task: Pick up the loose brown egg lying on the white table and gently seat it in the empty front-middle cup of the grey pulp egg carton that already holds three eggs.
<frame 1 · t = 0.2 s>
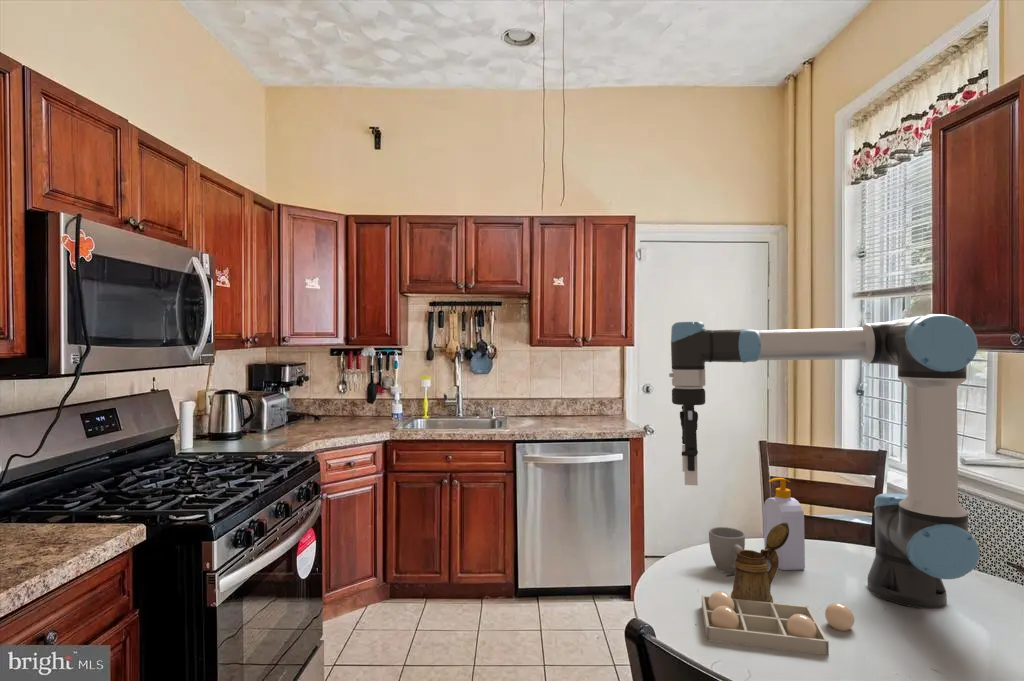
hand: (689, 478, 130), 28 cm above the table, fingers open, 13 cm apart
carton: (759, 631, 113), on the table
wooden mug: (761, 604, 125), on the table
mug: (730, 572, 143), on the table
egg seated 3: (721, 616, 118), point 1 cm above the table, touching carton
egg seated 2: (725, 633, 111), point 1 cm above the table, touching carton
soap bottle: (782, 564, 148), on the table
egg seated 1: (801, 642, 108), point 1 cm above the table, touching carton
egg: (839, 629, 114), on the table
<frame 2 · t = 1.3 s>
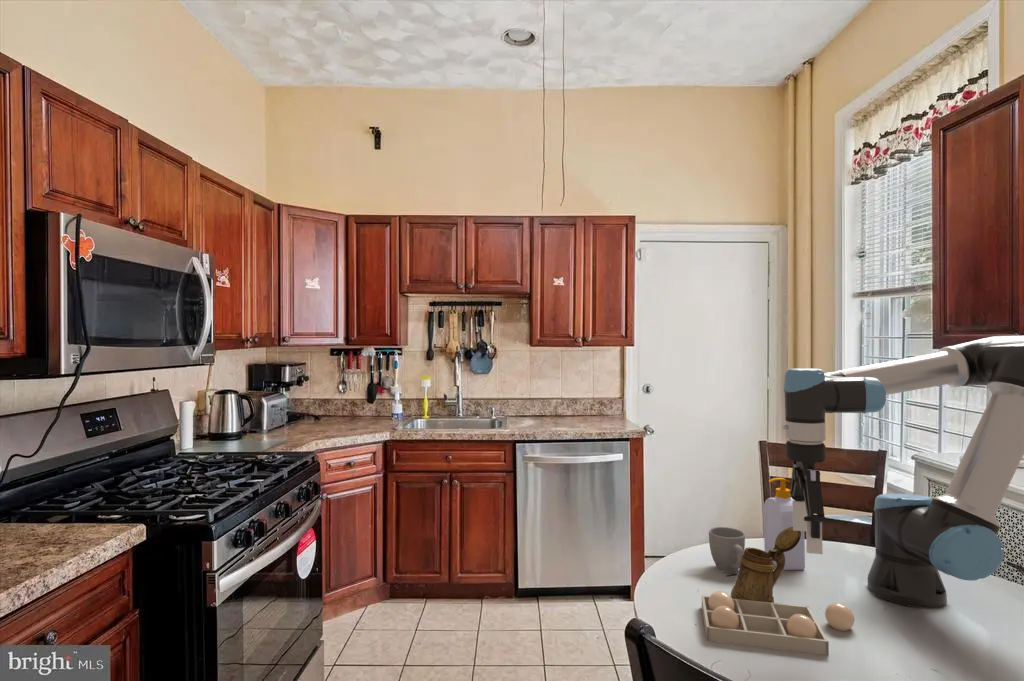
hand: (806, 541, 117), 17 cm above the table, fingers open, 13 cm apart
wooden mug: (761, 602, 125), on the table, touching gripper
everything else where it was.
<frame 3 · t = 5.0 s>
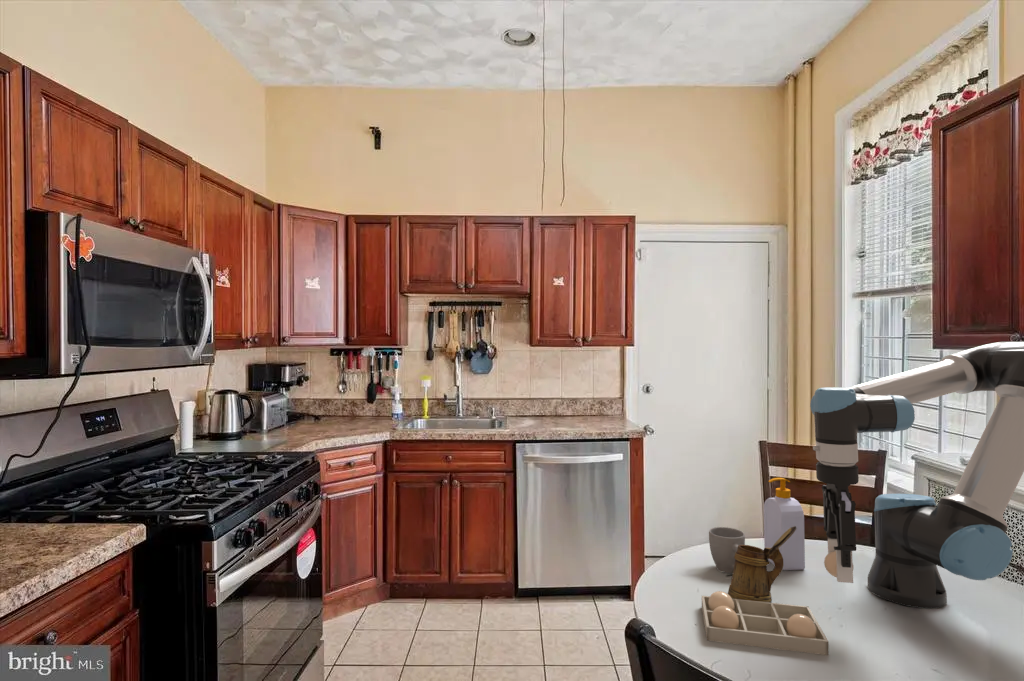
hand: (840, 575, 114), 11 cm above the table, fingers closed on egg, 5 cm apart
wooden mug: (759, 601, 126), on the table
egg: (838, 577, 114), point 11 cm above the table, touching gripper
everything else where it was.
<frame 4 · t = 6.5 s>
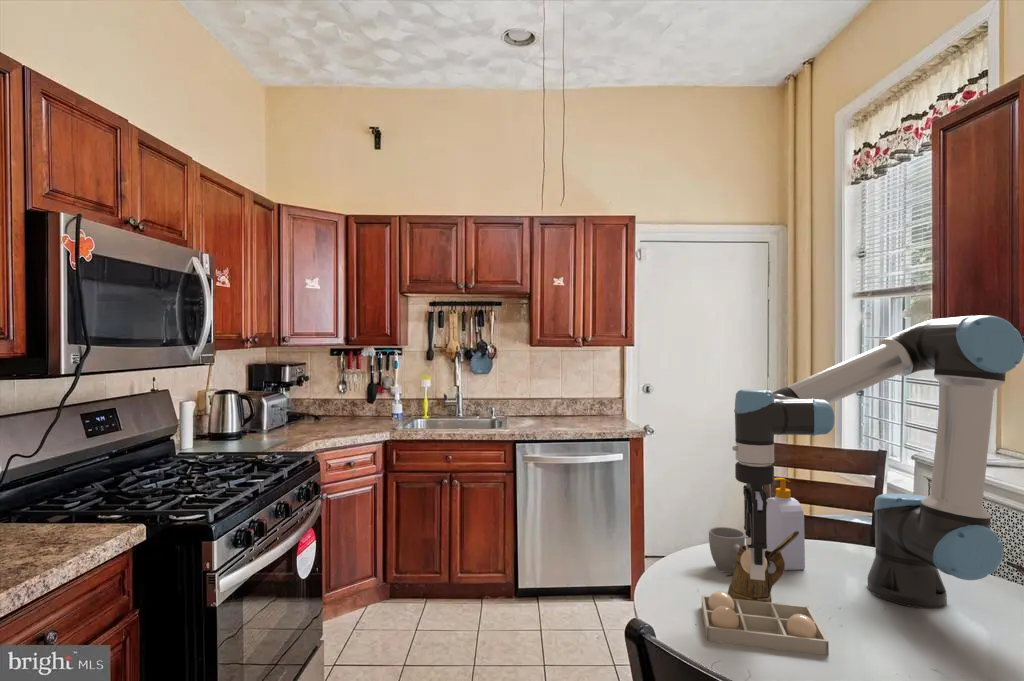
hand: (755, 573, 116), 11 cm above the table, fingers closed on egg, 5 cm apart
egg: (753, 574, 116), point 10 cm above the table, touching gripper
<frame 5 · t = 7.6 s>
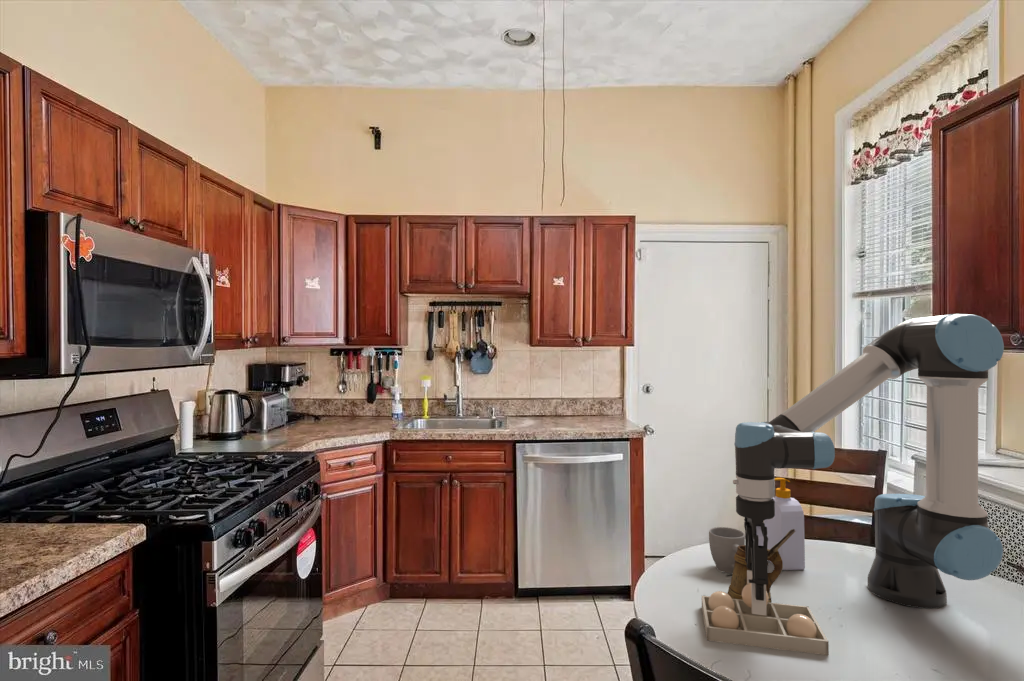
hand: (756, 607, 116), 3 cm above the table, fingers closed on carton, egg, 5 cm apart
egg: (755, 608, 116), point 3 cm above the table, touching gripper
everything else where it was.
when the fingers open (3 cm above the table, at t = 8.1 s): egg drops 2 cm, resting on carton.
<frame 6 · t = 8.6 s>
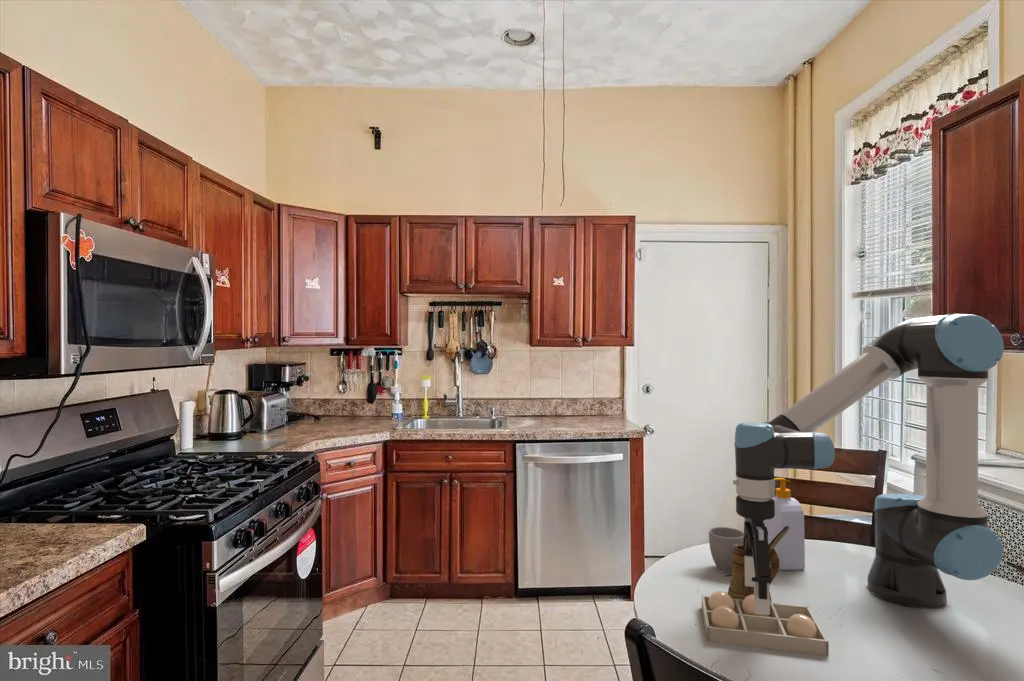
hand: (756, 599, 116), 5 cm above the table, fingers open, 12 cm apart
wooden mug: (759, 602, 126), on the table, touching gripper
egg: (755, 620, 116), point 1 cm above the table, touching carton
everything else where it was.
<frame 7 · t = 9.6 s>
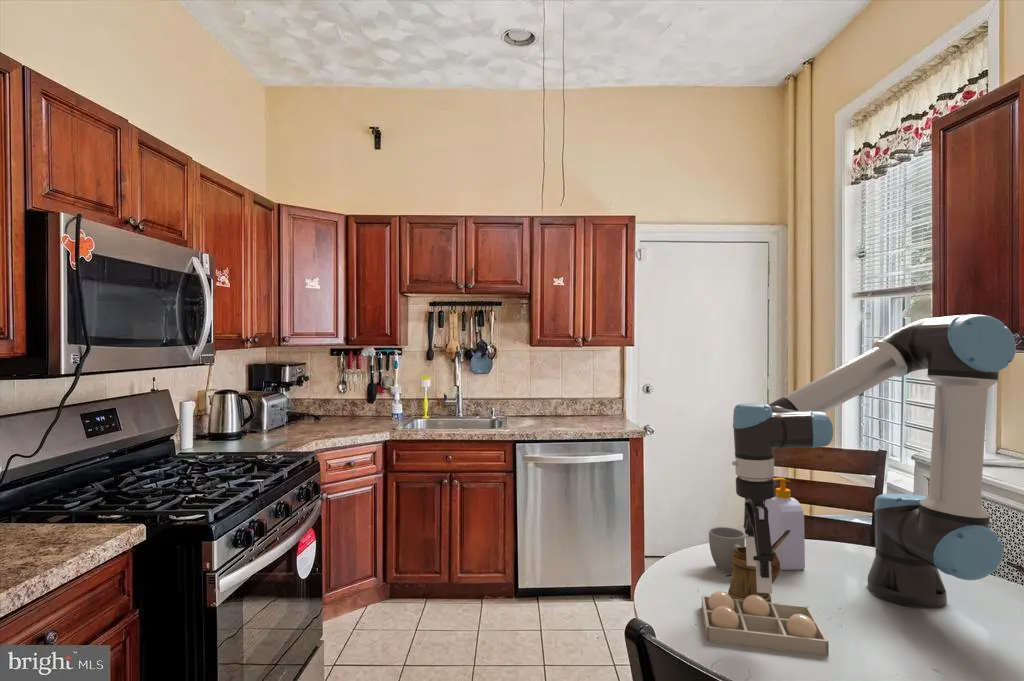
hand: (758, 578, 116), 9 cm above the table, fingers open, 13 cm apart
wooden mug: (759, 603, 126), on the table
everything else where it was.
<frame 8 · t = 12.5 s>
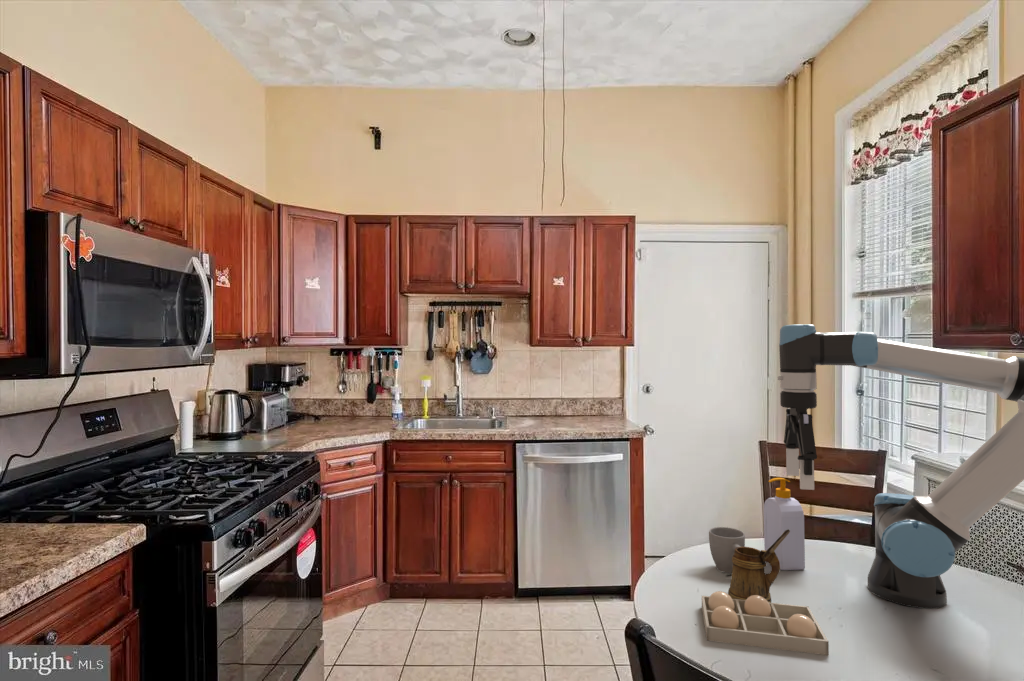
hand: (799, 482, 128), 27 cm above the table, fingers open, 13 cm apart
egg: (755, 620, 116), point 1 cm above the table, tilted 11°, touching carton
everything else where it was.
at the end: egg 0.3 cm from the target spot on the carton, point 0.6 cm above the carton's base; the gripper is holding nothing; egg seated 3 moved 0.1 cm from its start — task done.
